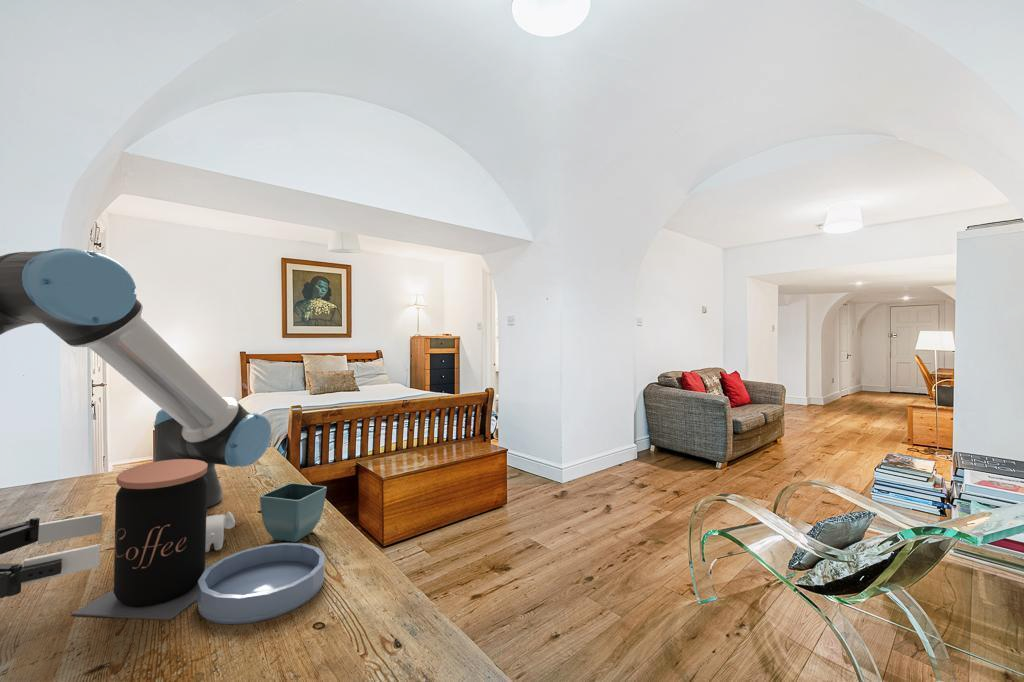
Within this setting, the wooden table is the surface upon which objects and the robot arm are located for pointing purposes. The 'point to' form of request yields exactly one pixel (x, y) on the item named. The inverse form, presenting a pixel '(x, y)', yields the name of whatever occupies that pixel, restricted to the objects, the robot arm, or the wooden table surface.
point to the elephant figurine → (217, 529)
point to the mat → (115, 608)
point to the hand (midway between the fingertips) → (101, 537)
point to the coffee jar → (159, 531)
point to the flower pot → (292, 510)
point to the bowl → (260, 583)
